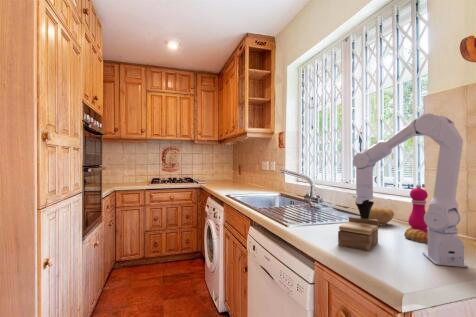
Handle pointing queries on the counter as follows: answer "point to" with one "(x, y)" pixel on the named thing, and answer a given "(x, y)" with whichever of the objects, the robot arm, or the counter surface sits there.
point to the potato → (381, 215)
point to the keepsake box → (357, 240)
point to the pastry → (416, 235)
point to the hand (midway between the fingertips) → (364, 220)
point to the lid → (360, 225)
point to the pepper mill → (418, 209)
